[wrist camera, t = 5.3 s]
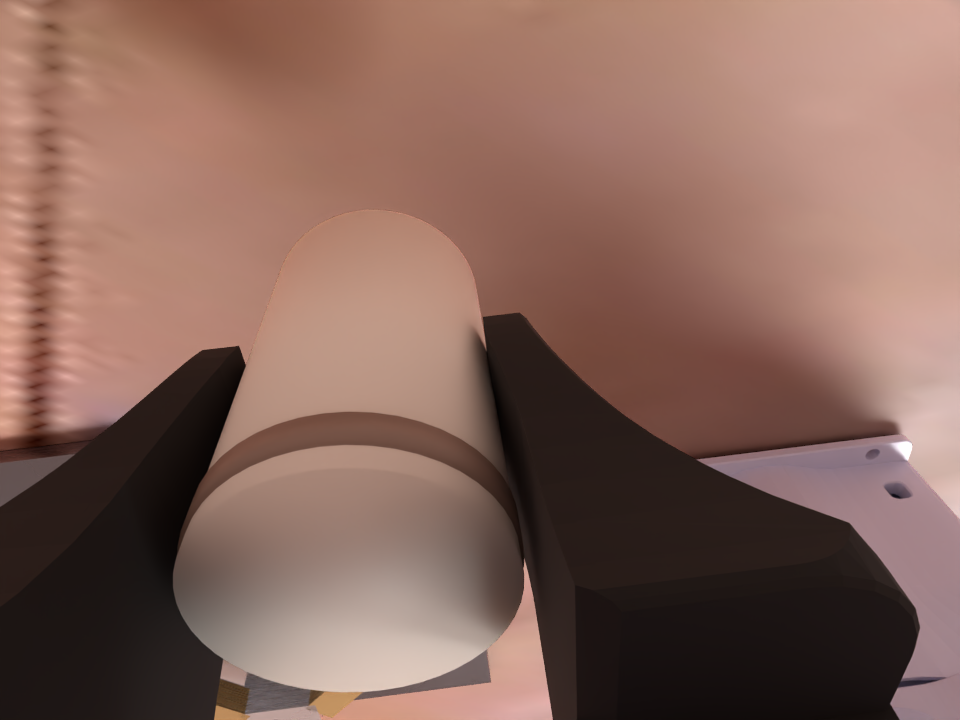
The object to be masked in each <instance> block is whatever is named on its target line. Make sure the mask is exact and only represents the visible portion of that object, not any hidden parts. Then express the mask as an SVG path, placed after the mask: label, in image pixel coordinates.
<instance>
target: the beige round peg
mask: <svg viewBox="0 0 960 720" xmlns="http://www.w3.org/2000/svg"><path fill="white" fill-rule="evenodd" d="M523 567H524V546H523V540H522V534H521V528H520V522H519V517H518V511H517V505H516V502H515V500H514V497H513V494H512V492H511V489H510V486H509V480H508V474H507V468H506V462H505V456H504V450H503V444H502V438H501V432H500V426H499V420H498V414H497V409H496V403H495V397H494V392H493V388H492V382H491V376H490V370H489V364H488V358H487V352H486V343H485V336H484V330H483V324H482V318H481V312H480V306H479V300H478V294H477V288H476V283H475V279H474V276H473V273H472V270H471V268H470V266H469V264H468V262H467V260H466V258H465V257H464V255H463V254H462V253H461V251H460V250H459V248H458V247H457V246H456V245H455V244H454V243H453V242H452V241H451V240H450V239H449V238H448V237H447V236H446V235H445V234H443V233H442V232H441V231H440V230H438V229H436V228H435V227H433V226H432V225H430V224H429V223H427V222H424V221H422V220H420V219H418V218H416V217H413V216H410V215H407V214H404V213H399V212H394V211H389V210H376V209H373V210H359V211H353V212H347V213H344V214H341V215H338V216H334V217H332V218H330V219H328V220H326V221H323V222H321V223H320V224H318V225H317V226H315V227H314V228H312V229H310V230H309V231H308V232H307V233H306V234H305V235H303V236H302V237H301V238H300V239H299V240H298V242H297V243H296V244H295V245H294V246H293V247H292V249H291V250H290V252H289V254H288V255H287V257H286V259H285V261H284V263H283V266H282V268H281V270H280V273H279V276H278V279H277V281H276V284H275V287H274V290H273V292H272V295H271V298H270V301H269V303H268V306H267V309H266V312H265V314H264V317H263V320H262V323H261V326H260V328H259V331H258V334H257V337H256V339H255V342H254V345H253V348H252V350H251V353H250V356H249V359H248V361H247V364H246V367H245V370H244V372H243V375H242V378H241V381H240V383H239V386H238V389H237V392H236V394H235V397H234V400H233V403H232V405H231V408H230V411H229V414H228V416H227V419H226V422H225V425H224V427H223V430H222V433H221V436H220V438H219V441H218V444H217V447H216V449H215V452H214V455H213V458H212V460H211V463H210V466H209V469H208V471H207V473H206V475H205V476H204V478H203V479H202V481H201V482H200V484H199V486H198V488H197V490H196V493H195V495H194V497H193V500H192V502H191V505H190V508H189V510H188V513H187V516H186V519H185V521H184V524H183V527H182V529H181V532H180V537H179V542H178V547H177V557H176V561H175V566H174V570H173V590H174V595H175V599H176V604H177V606H178V608H179V610H180V613H181V615H182V617H183V619H184V620H185V622H186V623H187V625H188V626H189V628H190V629H191V631H192V632H193V633H194V634H195V635H196V636H197V637H198V638H199V640H200V641H201V642H202V643H203V644H205V645H206V646H207V647H208V648H209V649H211V650H212V651H213V652H214V653H215V654H217V655H218V656H220V657H221V658H223V659H224V660H226V661H228V662H229V663H231V664H233V665H234V666H236V667H238V668H240V669H242V670H244V671H246V672H249V673H251V674H254V675H256V676H259V677H261V678H264V679H267V680H270V681H274V682H277V683H280V684H284V685H288V686H293V687H298V688H303V689H310V690H318V691H329V692H368V691H379V690H387V689H393V688H399V687H404V686H408V685H412V684H416V683H420V682H423V681H426V680H429V679H432V678H435V677H438V676H441V675H443V674H445V673H448V672H450V671H452V670H454V669H456V668H458V667H460V666H462V665H464V664H466V663H467V662H469V661H471V660H472V659H474V658H475V657H477V656H478V655H480V654H481V653H482V652H484V651H485V650H486V649H487V648H489V647H490V646H491V645H492V644H493V643H494V642H495V641H496V640H497V639H498V638H499V637H500V636H501V635H502V634H503V633H504V631H505V630H506V629H507V628H508V626H509V625H510V623H511V621H512V620H513V618H514V617H515V615H516V613H517V610H518V608H519V605H520V603H521V599H522V595H523V590H524V570H523Z"/></svg>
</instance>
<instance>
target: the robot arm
mask: <svg viewBox="0 0 960 720" xmlns="http://www.w3.org/2000/svg"><path fill="white" fill-rule="evenodd" d="M483 322H484V333H485V343H486V352H487V358H488V364H489V370H490V376H491V382H492V388H493V392H494V397H495V403H496V409H497V414H498V420H499V426H500V432H501V438H502V444H503V450H504V456H505V462H506V468H507V474H508V480H509V486H510V489H511V492H512V494H513V497H514V500H515V502H516V505H517V511H518V517H519V522H520V528H521V534H522V540H523V546H524V558H525V562H526V566H527V569H528V573H529V578H530V583H531V587H532V592H533V597H534V602H535V609H536V615H537V621H538V627H539V634H540V640H541V646H542V652H543V659H544V665H545V671H546V678H547V684H548V691H549V697H550V703H551V710H552V716H553V720H960V519H959V518H958V517H957V516H956V515H955V514H954V513H953V511H952V510H951V509H950V508H949V507H948V506H947V505H946V504H945V502H944V501H943V500H942V499H941V498H940V497H939V496H938V495H937V493H936V492H935V491H934V490H933V489H932V488H931V487H930V486H929V484H928V483H927V482H926V481H925V480H924V479H923V478H922V477H921V476H920V474H919V473H918V472H917V471H916V470H915V469H914V468H913V467H912V465H911V464H910V463H909V462H908V458H909V455H910V453H911V450H912V443H911V442H910V440H909V439H908V438H907V437H906V436H904V435H889V436H881V437H873V438H865V439H857V440H849V441H841V442H833V443H825V444H817V445H809V446H801V447H793V448H785V449H777V450H769V451H761V452H753V453H745V454H737V455H729V456H721V457H713V458H705V459H697V460H696V459H694V458H692V457H691V456H689V455H687V454H685V453H683V452H682V451H680V450H678V449H676V448H674V447H673V446H671V445H669V444H667V443H666V442H664V441H662V440H661V439H659V438H657V437H656V436H654V435H652V434H651V433H649V432H648V431H646V430H645V429H643V428H642V427H640V426H639V425H638V424H636V423H635V422H633V421H632V420H630V419H629V418H627V417H626V416H625V415H623V414H622V413H621V412H619V411H618V410H617V409H616V408H614V407H613V406H612V405H610V404H609V403H608V402H607V401H606V400H605V399H603V398H602V397H601V396H600V395H599V394H597V393H596V392H595V391H594V390H593V389H592V388H590V387H589V386H588V385H587V384H586V383H585V382H584V381H583V380H582V379H581V378H580V377H579V376H578V375H577V374H575V373H574V372H573V371H572V370H571V369H570V368H569V367H568V366H567V365H566V364H565V363H564V362H563V361H562V360H561V359H560V358H559V357H558V356H557V354H556V353H555V352H554V351H553V350H552V349H551V348H550V347H549V346H548V345H547V343H546V342H545V341H544V340H543V339H542V338H541V337H540V335H539V334H538V333H537V332H536V331H535V329H534V328H533V327H532V325H531V324H530V323H529V321H528V320H527V319H526V318H525V317H524V316H523V315H522V314H520V313H513V314H505V315H496V316H488V317H483ZM245 367H246V365H245V362H244V359H243V356H242V353H241V350H240V347H239V346H235V347H226V348H218V349H209V350H202V351H201V352H199V353H198V354H196V355H195V356H194V357H192V358H191V359H190V360H188V361H187V362H186V363H185V364H183V365H182V366H181V367H180V368H179V369H177V370H176V371H175V372H174V373H173V374H172V375H170V376H169V377H168V378H167V379H166V380H165V381H163V382H162V383H161V384H160V385H159V386H158V387H156V388H155V389H154V390H153V391H152V392H151V393H149V394H148V395H147V396H146V397H145V398H144V399H142V400H141V401H140V402H139V403H138V404H137V405H135V406H134V407H133V408H132V409H131V410H130V411H128V412H127V413H126V414H125V415H124V416H123V417H121V418H120V419H119V420H118V421H117V422H115V423H114V424H113V425H112V426H110V427H109V428H108V429H107V430H105V431H104V432H103V433H101V434H100V435H99V436H98V437H96V438H95V439H94V440H93V441H91V442H90V443H89V444H87V445H86V446H85V447H84V448H82V449H81V450H80V451H79V452H77V453H76V454H75V455H74V456H72V457H71V458H70V459H68V460H67V461H66V462H65V463H63V464H62V465H60V466H59V467H58V468H56V469H55V470H54V471H52V472H51V473H49V474H48V475H47V476H45V477H44V478H42V479H41V480H40V481H38V482H37V483H35V484H34V485H32V486H31V487H29V488H28V489H26V490H25V491H23V492H22V493H20V494H19V495H17V496H16V497H14V498H13V499H11V500H10V501H8V502H7V503H5V504H4V505H2V506H1V507H0V720H214V717H215V710H216V703H217V695H218V689H219V683H220V677H221V670H222V664H223V658H221V657H220V656H218V655H217V654H215V653H214V652H213V651H212V650H211V649H209V648H208V647H207V646H206V645H205V644H203V643H202V642H201V641H200V640H199V638H198V637H197V636H196V635H195V634H194V633H193V632H192V631H191V629H190V628H189V626H188V625H187V623H186V622H185V620H184V619H183V617H182V615H181V613H180V610H179V608H178V606H177V604H176V599H175V595H174V590H173V570H174V566H175V561H176V557H177V547H178V542H179V537H180V532H181V529H182V527H183V524H184V521H185V519H186V516H187V513H188V510H189V508H190V505H191V502H192V500H193V497H194V495H195V493H196V490H197V488H198V486H199V484H200V482H201V481H202V479H203V478H204V476H205V475H206V473H207V471H208V469H209V466H210V463H211V460H212V458H213V455H214V452H215V449H216V447H217V444H218V441H219V438H220V436H221V433H222V430H223V427H224V425H225V422H226V419H227V416H228V414H229V411H230V408H231V405H232V403H233V400H234V397H235V394H236V392H237V389H238V386H239V383H240V381H241V378H242V375H243V372H244V370H245Z"/></svg>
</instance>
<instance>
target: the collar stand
mask: <svg viewBox="0 0 960 720" xmlns="http://www.w3.org/2000/svg"><path fill="white" fill-rule="evenodd" d="M92 441H93V440H92ZM90 442H91V441H84V442H76V443H68V444H59V445H51V446H43V447H35V448H27V449H18V450H10V451H2V452H0V507H1V506H2V505H4V504H5V503H7V502H8V501H10V500H11V499H13V498H14V497H16V496H17V495H19V494H20V493H22V492H23V491H25V490H26V489H28V488H29V487H31V486H32V485H34V484H35V483H37V482H38V481H40V480H41V479H42V478H44V477H45V476H47V475H48V474H49V473H51V472H52V471H54V470H55V469H56V468H58V467H59V466H60V465H62V464H63V463H65V462H66V461H67V460H68V459H70V458H71V457H72V456H74V455H75V454H76V453H77V452H79V451H80V450H81V449H82V448H84V447H85V446H86V445H87V444H89V443H90ZM489 682H491V678H490V669H489V662H488V655H487V649H486V650H485V651H484V652H482V653H481V654H480V655H478V656H477V657H475V658H474V659H472V660H471V661H469V662H467V663H466V664H464V665H462V666H460V667H458V668H456V669H454V670H452V671H450V672H448V673H445V674H443V675H441V676H438V677H435V678H432V679H429V680H426V681H423V682H420V683H416V684H412V685H408V686H404V687H399V688H393V689H387V690H379V691H368V692H329V691H318V690H310V689H303V688H298V687H293V686H288V685H284V684H280V683H277V682H274V681H270V680H267V679H264V678H261V677H259V676H256V675H254V674H251V673H249V672H246V671H244V670H242V669H240V668H238V667H236V666H234V665H233V664H231V663H229V662H228V661H226V660H224V659H223V664H222V670H221V677H220V683H219V689H218V695H217V703H216V710H215V717H214V720H322V718H323V715H325V716H328V717H331V718H333V717H334V716H335V715H336V714H337V713H339V712H340V711H341V710H342V709H343V708H345V707H346V706H347V705H348V704H349V703H351V702H352V701H353V700H359V699H366V698H374V697H382V696H389V695H397V694H405V693H412V692H420V691H428V690H435V689H443V688H451V687H458V686H466V685H474V684H481V683H489Z"/></svg>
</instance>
